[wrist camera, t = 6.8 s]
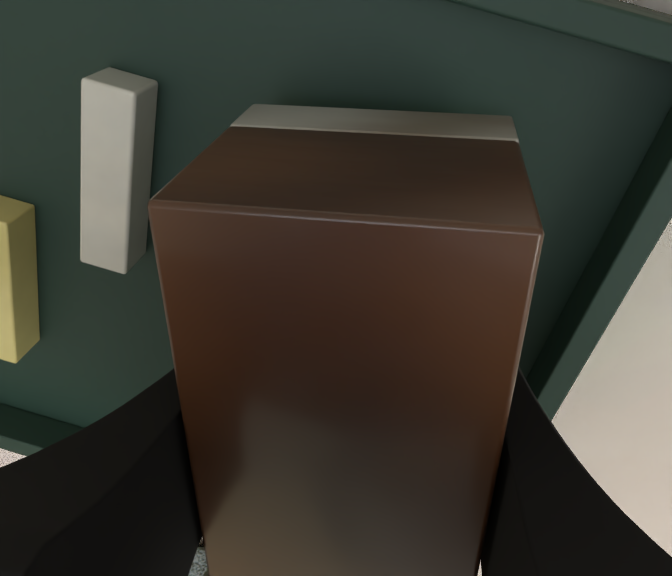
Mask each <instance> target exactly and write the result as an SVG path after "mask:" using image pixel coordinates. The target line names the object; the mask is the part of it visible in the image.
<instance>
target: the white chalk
mask: <svg viewBox="0 0 672 576" xmlns="http://www.w3.org/2000/svg"><path fill="white" fill-rule="evenodd" d="M157 91H158V82H157V81H156V80H153V79H149V78H146V77H142V76H139V75H135V74H132V73H129V72H125V71H122V70H118V69H115V68H111V67H107V68H104V69H102V70H100V71H97V72H95V73H93V74H90V75H88V76H86V77H83V78H82V80H81V189H80V260H81V262H83V263H87V264H90V265H94V266H97V267H100V268H104V269H107V270H111V271H114V272H118V273H121V274H127V272H128V271H129V270H130V269H131V268H132V267H133V266H134V265H135V264H136V263H137V262H138V261H139V260H140V258H141V257H142V256H143V255H144V254H145V253H146V242H147V228H148V209H147V205H148V201H149V200H150V187H151V173H152V160H153V146H154V132H155V119H156V105H157Z"/></svg>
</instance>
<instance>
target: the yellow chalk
mask: <svg viewBox="0 0 672 576" xmlns="http://www.w3.org/2000/svg"><path fill="white" fill-rule="evenodd" d="M39 340H40V326H39V301H38V275H37V249H36V224H35V206H34V205H33V204H30V203H26V202H23V201H20V200H16V199H13V198H9V197H6V196H3V195H0V359H1V360H4V361H8V362H11V363H17V362H18V361H19V360H20V359H21V358H22V357H23V356H24V355H25V354H26V353H27V352H28V351H29V350H30V349H31V348H32V347H33V346H34V345H35V344H36V343H37V342H38V341H39Z"/></svg>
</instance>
